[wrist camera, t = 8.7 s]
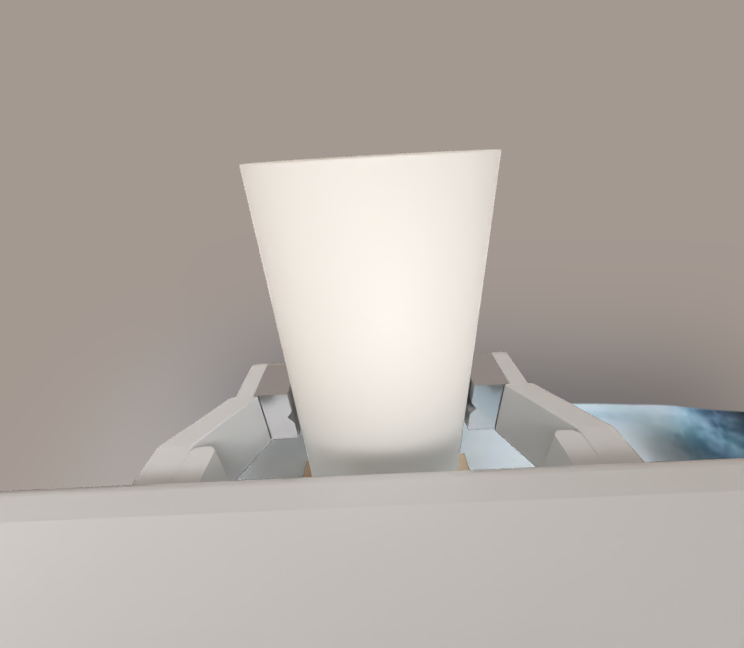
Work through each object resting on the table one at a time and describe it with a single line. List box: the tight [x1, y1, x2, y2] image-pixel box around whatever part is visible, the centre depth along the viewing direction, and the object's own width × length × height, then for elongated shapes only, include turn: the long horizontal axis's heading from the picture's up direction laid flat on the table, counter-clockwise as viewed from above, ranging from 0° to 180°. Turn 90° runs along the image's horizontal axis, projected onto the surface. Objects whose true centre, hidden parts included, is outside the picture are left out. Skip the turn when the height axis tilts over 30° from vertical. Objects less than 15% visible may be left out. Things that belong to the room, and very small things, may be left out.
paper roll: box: [239, 150, 501, 477], centre depth 10 cm, size 5×5×15 cm
